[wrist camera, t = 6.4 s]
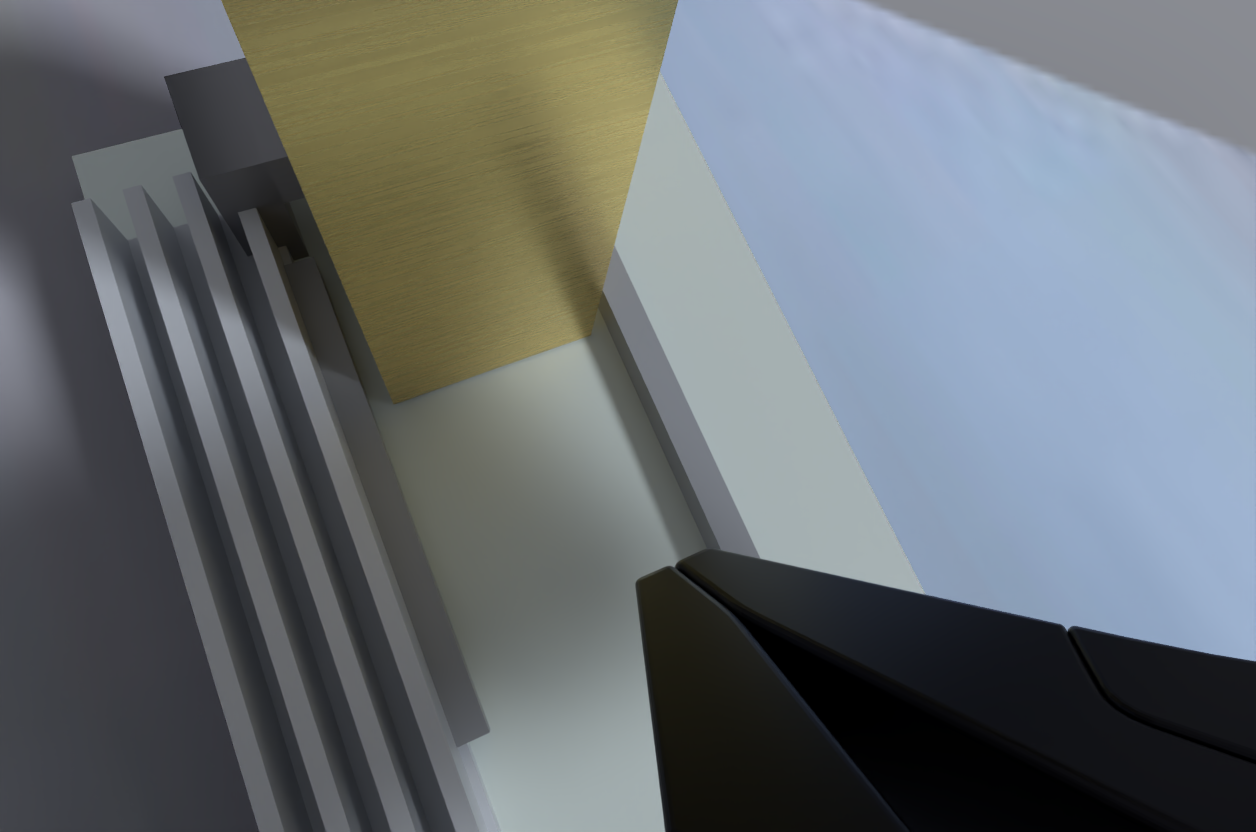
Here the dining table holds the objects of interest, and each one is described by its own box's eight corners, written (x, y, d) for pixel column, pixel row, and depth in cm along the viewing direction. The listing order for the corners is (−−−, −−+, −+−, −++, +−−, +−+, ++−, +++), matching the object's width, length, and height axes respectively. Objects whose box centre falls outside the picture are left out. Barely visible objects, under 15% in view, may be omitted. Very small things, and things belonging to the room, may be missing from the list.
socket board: (950, 686, 16) (1084, 693, 12) (346, 1006, 13) (283, 1141, 9) (627, 42, 19) (655, -105, 16) (91, 179, 16) (-29, 38, 13)
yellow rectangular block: (591, 335, 16) (750, -275, 6) (393, 404, 15) (145, -181, 5) (482, 91, 17) (447, -774, 7) (293, 140, 16) (-76, -781, 6)
